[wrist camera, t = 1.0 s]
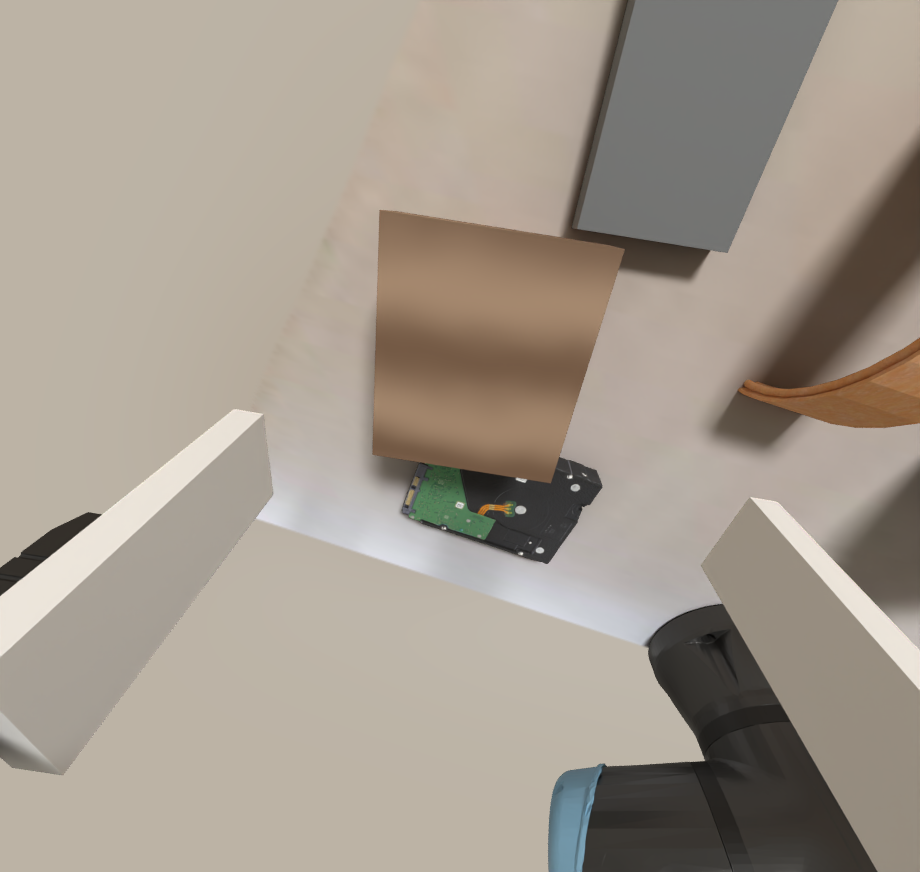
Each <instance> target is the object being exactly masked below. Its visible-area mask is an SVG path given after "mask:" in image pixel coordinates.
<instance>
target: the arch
mask: <svg viewBox="0 0 920 872" xmlns="http://www.w3.org/2000/svg"><path fill="white" fill-rule="evenodd" d="M744 386H745V387H743V388H739V389H738V391H739V392H740V393H742V394H743V395H746V396H749V397H752V398H754V399H757V400H760V401H763V402H766V403H769V404H772V405H775V406H778V407H781V408H784V409H787V410H790V411H794V412H797V413H800V414H803V415H806V416H809V417H812V418H815V419H818V420H821V421H824V422H827V423H830V424H836V425H842V426H848V427H855V428H887V427H894V426H902V425H909V424H917V423H920V338H919V339H917V340H916V341H914V342H913V343H911V344H910V345H908V346H907V347H905V348H904V349H902V350H900V351H898V352H896V353H895V354H893V355H891V356H889V357H887V358H885V359H883V360H881V361H880V362H878V363H876V364H874V365H872V366H870V367H868V368H866V369H863V370H861V371H858V372H856V373H853V374H851V375H848V376H846V377H843V378H841V379H838V380H835V381H831V382H827V383H823V384H820V385H816V386H812V387H804V388H794V389H780V388H775V387H772V386H769V385H766V384H763V383H760V382H753V381H751V380H746V381H745V382H744Z"/></svg>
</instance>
